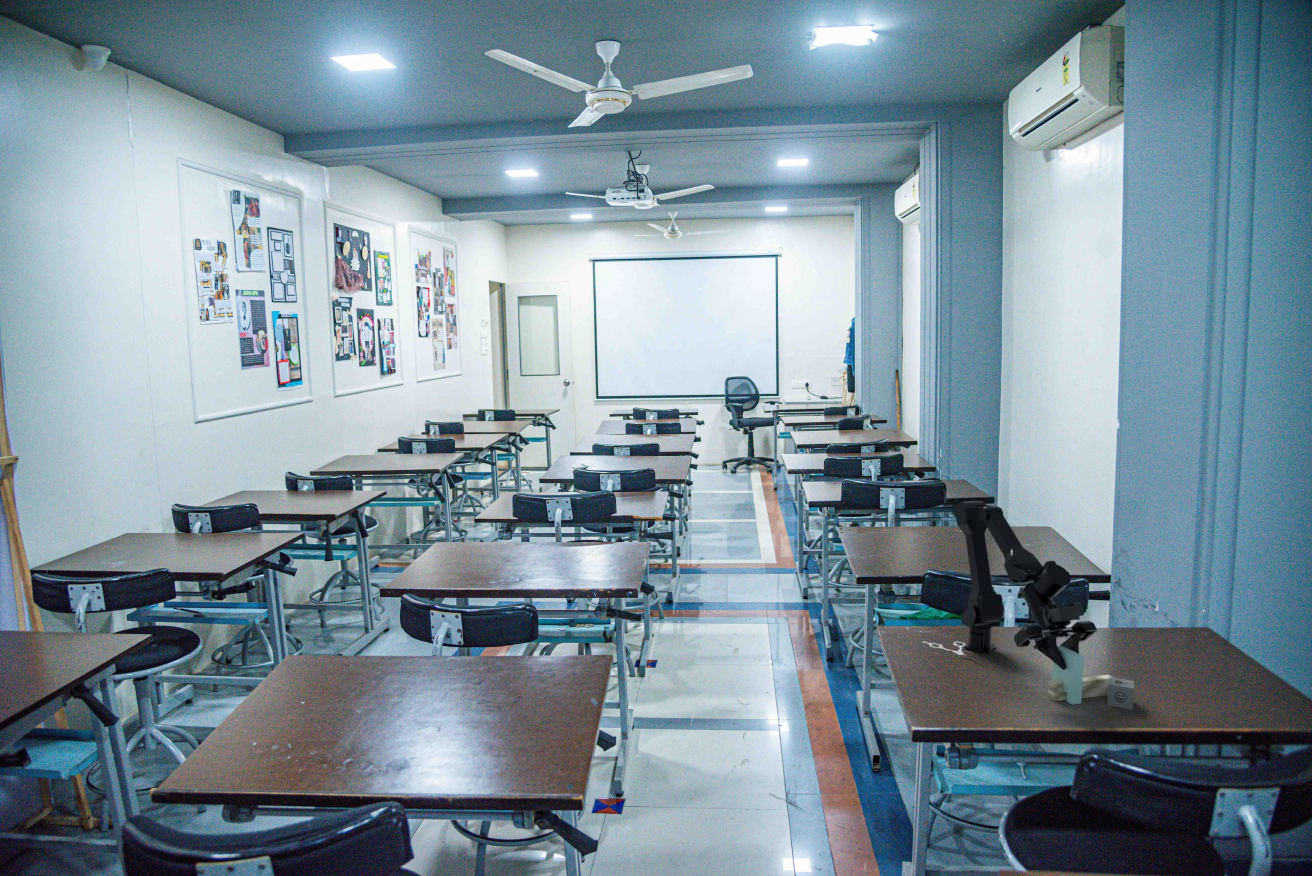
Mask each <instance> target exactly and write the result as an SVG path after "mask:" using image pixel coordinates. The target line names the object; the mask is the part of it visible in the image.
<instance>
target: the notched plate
mask: <svg viewBox="0 0 1312 876" xmlns="http://www.w3.org/2000/svg"><path fill="white" fill-rule="evenodd" d="M1057 647H1058V649H1059V651H1060V653H1061V655H1062V657H1063V659H1064V662H1065V664H1066V669H1065V670H1062V669H1061V668H1060V667H1059V666H1058V665H1057V664H1055V663H1054V662H1053V661H1052V671H1051V672H1052V673H1051V681H1053V680H1057V681H1059V682H1061V683H1062V690H1063V691H1065V692H1066V693H1067V700H1066V702H1067V703H1069V704H1071V705H1080V704H1082V699H1083V698H1082V681H1083V677H1084V664H1085V662H1084V661H1085V656H1084V655H1082V654H1080V653H1079V654H1078V653H1076V652H1074V651H1072V650H1070V649H1068V648H1066V647H1064V646H1061V645H1057Z"/></svg>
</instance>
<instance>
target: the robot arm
mask: <svg viewBox="0 0 1312 876" xmlns="http://www.w3.org/2000/svg"><path fill="white" fill-rule="evenodd" d="M953 512H954V516H955V520H956V524H957V527H958V528H959V529H960V530H961V532H962V533H963V534H964V537H965V543H966V550H967V558H968V564H969V565H968V566H969V571H970V579H971V586H972V587H971V588H972V590H971V592H970V595H969V596H968V599H967V609H965V611H964V612H963V613H962V614H961V615H960V621H961V624H962V625H963V626H966V627H967V628H968V638H967V639H968V641H967V642H966V643H965V646H964V647H963V649H965V650H970V651H976V652H982V653H986V654H989V653H991V652H992V650H994V648H995V647H996V645H995V644H993V643H992V634H993V633H992V632H993V631H992V630H993V628H994V627H997V628H999V627H1000V626H1001V623H1002V621H1003V617H1004V612H1005V608H1004V603H1003V596H1002V594H1000V593H998V592H996V590H995V589H994V588H993V583H992V576H991V568H990V561H989V560H990V559H989V555H988V547H987V540H986V532H987V530H988V531H989V533H990V535H991V536H992V538H993V540H994V541H995V543H996V545H997V546H998V548H999V550H1000V552H1001V553H1002V555H1003V558H1004V564H1003V566H1004V569H1005V572H1006V574H1007V576H1008V579H1009V580H1010V581H1011V582H1012V583H1013V584H1014V583H1015V584H1026V585H1025V586H1020V587H1019V591H1018V593H1017V599H1024V602H1025V603H1026V605H1027V607H1028V609H1029V611H1030V613H1031V614H1030V615H1029V617H1028V618H1029V620H1030V621H1034V622H1035V624H1036V625H1025V626H1022V628H1020V629H1019V631H1018V632H1017V633H1015V634H1014V638H1013V640H1014V643H1015V645H1016V648H1025V647H1029V646H1030V643H1031V641H1032V640H1034V643H1035V645H1033V646H1032V648H1033V650H1038V651H1039V652H1040V653H1042V654H1043V655H1044V656H1046V658H1048V659H1049V660H1050V661H1052V663H1053V662H1054V663H1055V664H1057V665H1058V666H1059V667H1060V668H1061V669H1062V670H1065V669H1066V664H1065V662H1064V659H1063V657H1062V655H1061V653H1060V651H1059V649H1058V647H1057V646H1058V645H1057V644H1058V643H1057V642H1058V641H1057V638H1061V640H1062V643H1061V644H1060V646H1064V647H1066V648H1068V649H1070V650H1072V651H1074V652H1076V653H1078V654H1080V648H1079V647H1080V643H1081V642H1085V641H1087V640H1088V639H1089V638H1090V637H1092V636H1093V635H1094V634H1095V633H1097V632H1098V629H1097V627H1096V624H1095V623H1094V622H1093V621H1091V620H1085V621H1084V620H1083V621H1081V617H1082V616H1084V615H1085V611H1084V607H1083V605H1082V604H1081V602H1080V601H1075V602H1070V603H1068V606H1067V605H1066V606H1062V605H1060V603H1055V602H1054V600H1053V598H1054V597H1056V596H1057V595H1059V594H1060V592H1062V591H1063V590H1064V589H1065V588H1066V587H1067V586H1068V585H1069V584H1070V583H1071V580H1072V577H1071V575H1070V572H1069V571H1067V570H1066V569H1065V568H1064V567H1063V566H1061V565H1059V564H1057V562H1056V561H1055V560H1047V561H1046V562H1045V563H1044V564H1043V565H1042V563H1041V562H1040V561H1039V559H1038V558H1037V557H1036V556H1035V555H1034V554H1033V553H1032V552H1031V551H1029V550H1027V549H1026V548H1024V547H1023V545H1022V544H1021V542H1020V540H1019V539H1018V537H1017V535H1016V534H1015V532H1014V531H1013V528H1012V527H1011V526H1010V523H1009V522H1008V521H1007V519H1006V517H1005V516H1004V510H1003V509H1002V507H1000V506H997V505H993V504H992V505H991V504H986V503H985V501H982V500H972V501H970V500H969V501H960V502H958V503H957V505H956V506H955V508H954V511H953ZM1075 620H1076V622H1075V623H1074V624H1072V622H1071V621H1075ZM1070 624H1072V625H1071V626H1070ZM1067 626H1070V627H1067ZM1030 640H1031V641H1030Z"/></svg>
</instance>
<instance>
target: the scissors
mask: <svg viewBox="0 0 1312 876" xmlns="http://www.w3.org/2000/svg"><path fill="white" fill-rule="evenodd" d="M961 643H962V645H958V644H961ZM922 644H925V645H928V646H929V647H930V648H932V649H939V650H944V651H945V652H946V651H947V652H950V651H952V653H953V654H955V653H956V654H955V655H957V654H958V655H957V656H959V655H965V653H964V652H963V650H962V649H963V648H964V646H965V645H966V643H964V642H961V641H954V642H953V645H954V647H958V648H959V649H958V650H952V649H948V648H945V647H944V646H943V644H940V643H936V642H932V643H931V642H927V641H925V640H924V641H923V640H922ZM934 645H935V646H934Z"/></svg>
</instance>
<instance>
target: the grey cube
mask: <svg viewBox="0 0 1312 876" xmlns="http://www.w3.org/2000/svg"><path fill="white" fill-rule="evenodd" d="M1134 694H1135V681H1134V680H1130V679H1122V678H1117V677H1114V676H1111V677H1109V683H1108V695H1107V703H1106V705H1107V706H1109V707H1115V708H1119V709H1124V710H1132V711H1133V709H1134V696H1135V695H1134Z"/></svg>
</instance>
